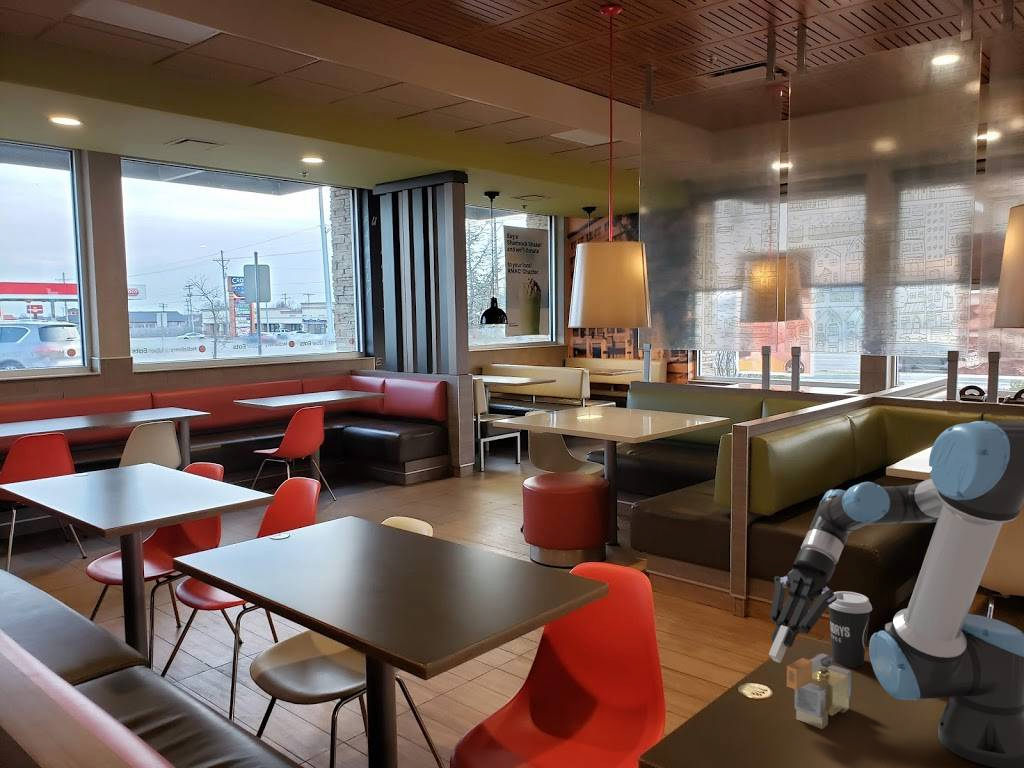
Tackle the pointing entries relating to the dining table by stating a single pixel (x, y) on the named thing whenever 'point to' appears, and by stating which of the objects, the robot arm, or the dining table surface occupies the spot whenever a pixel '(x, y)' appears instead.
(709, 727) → the dining table surface
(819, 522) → the robot arm
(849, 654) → the coffee cup
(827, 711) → the valve body
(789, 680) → the lever
